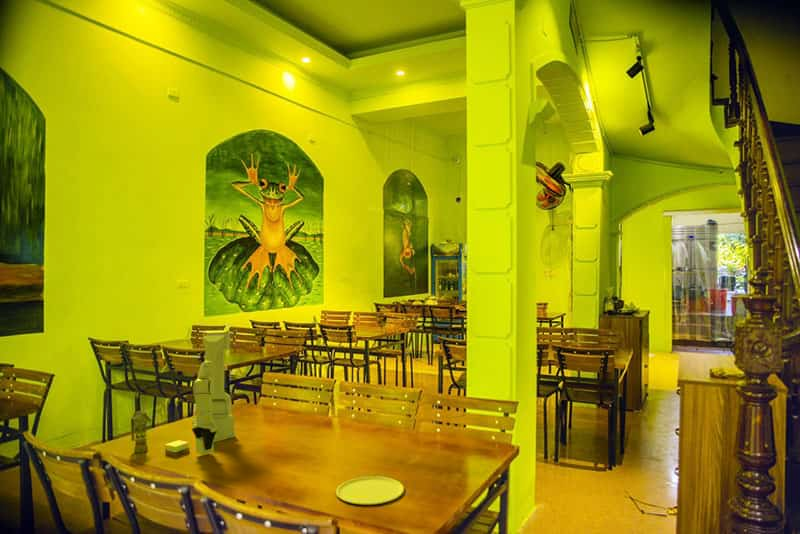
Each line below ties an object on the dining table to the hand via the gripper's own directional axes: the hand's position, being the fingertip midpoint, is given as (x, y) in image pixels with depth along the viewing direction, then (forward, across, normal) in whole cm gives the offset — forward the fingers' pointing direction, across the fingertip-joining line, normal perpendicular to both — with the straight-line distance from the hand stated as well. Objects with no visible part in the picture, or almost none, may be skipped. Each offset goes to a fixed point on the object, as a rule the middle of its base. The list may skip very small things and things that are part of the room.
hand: (204, 447), depth 202 cm
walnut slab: (+3, -11, -5) cm, 13 cm away
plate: (+3, +71, +16) cm, 73 cm away
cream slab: (+1, -11, -5) cm, 12 cm away
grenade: (+3, -25, -13) cm, 28 cm away
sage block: (+2, 0, 0) cm, 2 cm away
